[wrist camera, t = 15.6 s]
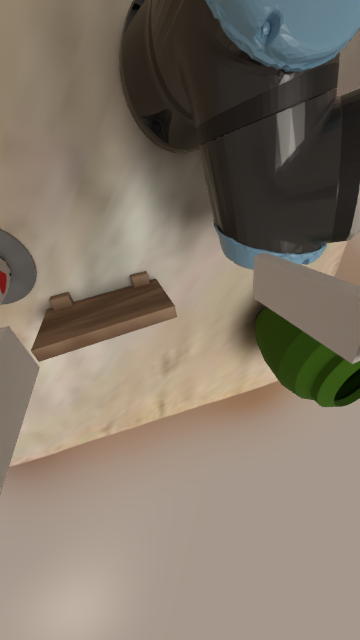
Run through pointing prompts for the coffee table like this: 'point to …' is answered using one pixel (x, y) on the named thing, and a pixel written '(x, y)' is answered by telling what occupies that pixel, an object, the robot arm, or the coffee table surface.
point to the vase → (306, 362)
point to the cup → (4, 278)
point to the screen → (101, 317)
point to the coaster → (17, 267)
